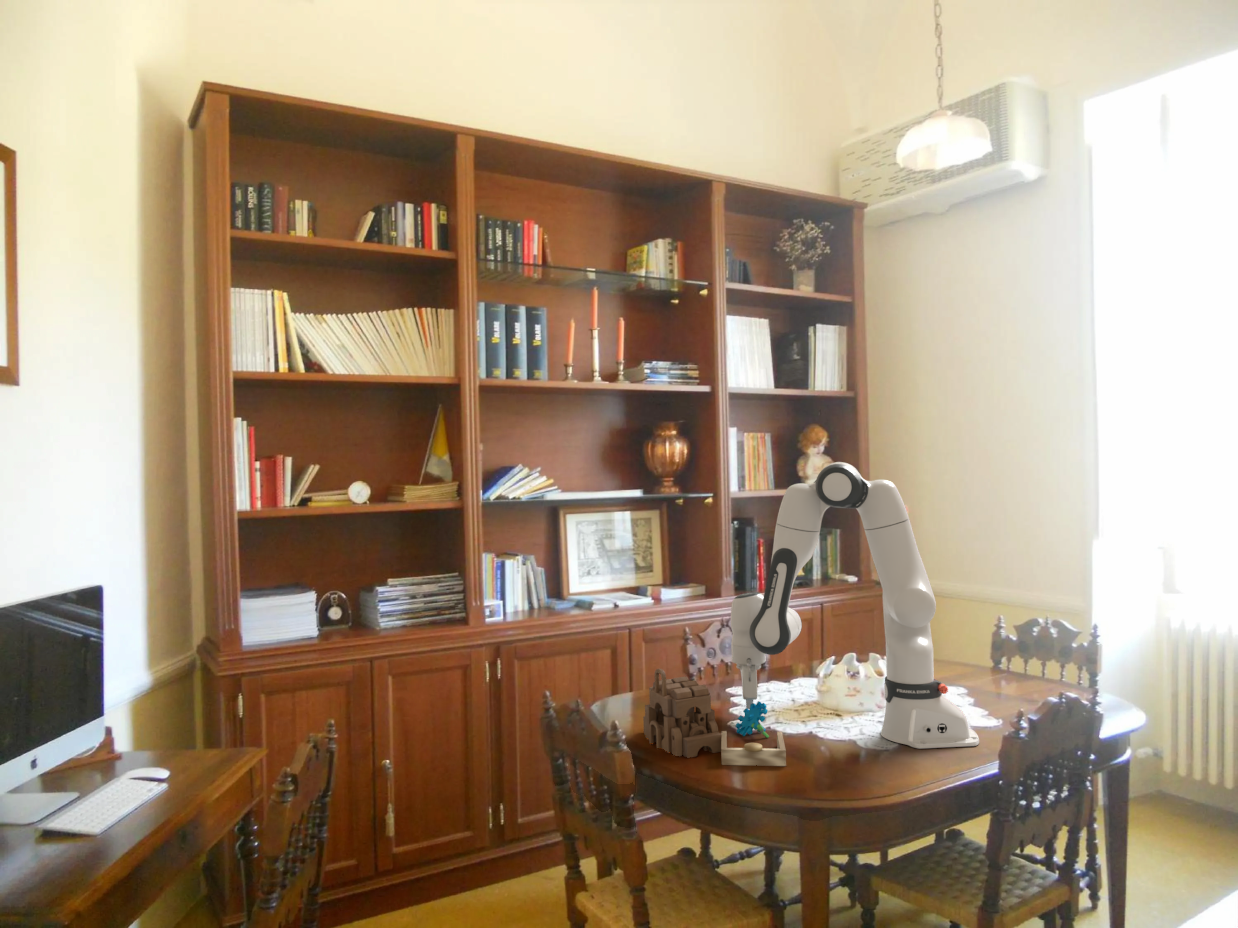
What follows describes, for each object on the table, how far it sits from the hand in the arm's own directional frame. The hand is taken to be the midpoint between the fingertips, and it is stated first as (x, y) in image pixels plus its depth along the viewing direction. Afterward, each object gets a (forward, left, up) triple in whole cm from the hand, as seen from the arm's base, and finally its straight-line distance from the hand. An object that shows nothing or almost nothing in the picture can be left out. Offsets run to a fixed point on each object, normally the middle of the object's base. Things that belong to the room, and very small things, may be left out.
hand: (749, 707), depth 227 cm
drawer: (0, +25, -4) cm, 26 cm away
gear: (0, +9, -4) cm, 10 cm away
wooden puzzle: (+17, +16, -4) cm, 24 cm away
